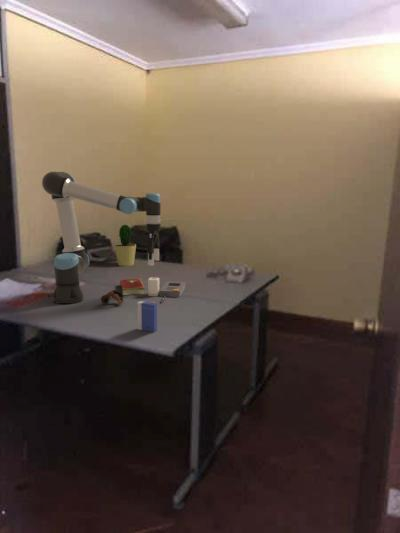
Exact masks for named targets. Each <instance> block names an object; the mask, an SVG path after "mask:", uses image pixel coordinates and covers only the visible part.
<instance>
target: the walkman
mask: <svg viewBox="0 0 400 533" xmlns="http://www.w3.org/2000/svg"><path fill="white" fill-rule="evenodd" d="M136 313H137V330H139V331H140V330H141V331H146V332H152V333H155V332H156V331H158V302H155V301H151V302H150V301H145V300H144V301H143V300H140V301H138V302H137V312H136Z"/></svg>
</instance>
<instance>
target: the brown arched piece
mask: <svg viewBox="0 0 400 533" xmlns="http://www.w3.org/2000/svg"><path fill="white" fill-rule="evenodd" d="M124 298H125V296H124V295H123V294H122V292H120V291H119V290H115V289H111V290H110V291H109V292H107V293H106V294H103V295H102V296H101V297H100V301H101V303H102V305H103V306H108V303H109V301H110V299H113V300H115V301H117V307H121V304H123V302H124Z"/></svg>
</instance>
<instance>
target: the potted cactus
mask: <svg viewBox="0 0 400 533" xmlns="http://www.w3.org/2000/svg"><path fill="white" fill-rule="evenodd" d="M132 230H133V229H131V226H129V224H128V225H127V224H122V225H121V226H120V227H119V231H118V236H119V240H120V243H116V244H114V248H115V253H116V260H117V265H118V266H120V267H131V266H134V265H135V257H136V249H137V244H136V243H131V240H130V239H131V237H132Z"/></svg>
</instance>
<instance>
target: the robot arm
mask: <svg viewBox="0 0 400 533" xmlns="http://www.w3.org/2000/svg"><path fill="white" fill-rule="evenodd" d="M41 186H42V188H43V190H44V191H45V192H46V193H47V194H48V195H51V200H52V201H53V202H54V203H55V204H56V211H57V216H58V220H59V226H60V227H59V228H60V231H61V237H62V241H63V246H64V247H63V249H62V250H61V251H62V252H61V253H60V254H57V255H56V256H54V260H53V265H54V279H55V288H54V291H53V295H52V302H53V301H55V302H58V303H72V304H76V303H75V302H77V303H80V302H82V301H83V300H84V298H85V295H84V292H83V290H82V288H81V284H80V283H81V282H80V274H81V273H83V272H84V273H85V271H86V270H87V269H88V267H89V265H90V257H89V255H88V254H87V253H86V250H85V249H86V248H85V247H84V246H82V245H81V239H80V233H79V228H78V222H77V215H76V212H75V211H76V210H75V205H74V199H76V200H80V201H82V202H87V203H90V204H93V205H97V206H101V207H105V208H107V209H108V208H109V209H112V210H115V211H119V212H121V213H123V214H124V215H125V214H126V215H131V214H134V213H135V212H140V213H141V212H144V213H145V222H146V224H145V225H146V227H145V228H146V229H145V230H146V232H149V233H148V234H147V247H146V252H145V253H146V254H147V266H150V267H151V266H154V264H155V263H154V262H155V261H160V249H161V243H160V235H159V234H160V233H159V232H160V231H161V220H162V216H161V205H162V204H161V203H162V202H161V195H160V194H159V193H156V192H155V193H153V192H152V193H151V192H150V193H149V192H148V193H146V194H145V196H143V197H142V196H125V195H121V194H119V193H118V194H117V193H114V192H111V191H106V190H103V189H99V188H96V187H93V186H89V185H86V184H83V183H80V182H76V180H75V178H74V176H72V175H71V174H70V173H68V172H65V171H49V172H48V173H46V174H45V175H44V176H43V178H42V180H41ZM79 301H80V302H79ZM55 302H54V303H55ZM58 303H57V304H58Z"/></svg>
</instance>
